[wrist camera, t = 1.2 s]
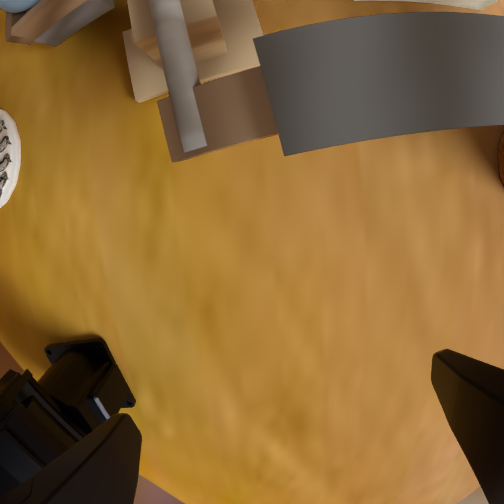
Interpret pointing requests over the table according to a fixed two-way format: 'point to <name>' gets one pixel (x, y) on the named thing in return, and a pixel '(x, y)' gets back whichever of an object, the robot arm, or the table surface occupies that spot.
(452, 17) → the lever
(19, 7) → the ball
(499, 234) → the table surface
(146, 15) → the fulcrum stand
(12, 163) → the decorative candle
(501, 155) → the disposable coffee cup
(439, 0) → the white storage tray
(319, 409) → the table surface
